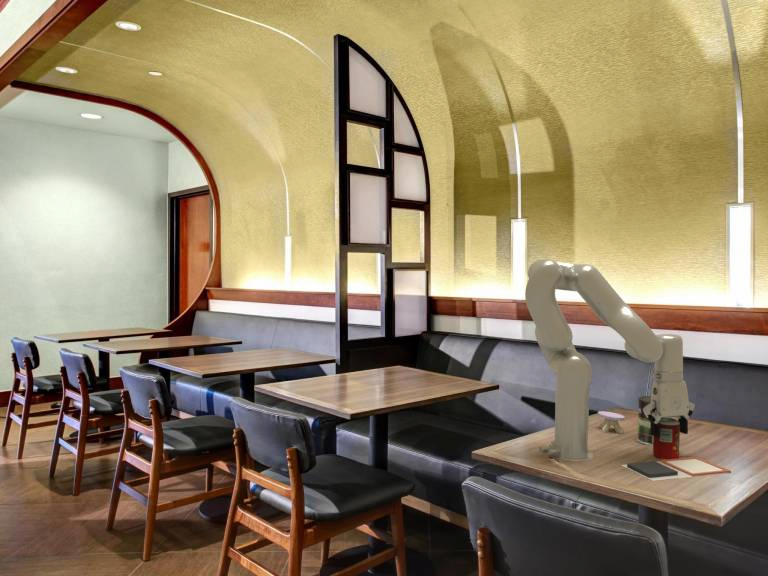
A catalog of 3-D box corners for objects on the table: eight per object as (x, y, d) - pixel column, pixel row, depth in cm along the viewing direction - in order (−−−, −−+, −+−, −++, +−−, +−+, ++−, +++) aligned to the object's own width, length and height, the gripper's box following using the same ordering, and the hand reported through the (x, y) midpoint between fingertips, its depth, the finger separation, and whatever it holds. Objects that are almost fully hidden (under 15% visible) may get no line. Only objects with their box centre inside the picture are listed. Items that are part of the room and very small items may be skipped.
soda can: (681, 465, 178) (682, 423, 177) (654, 463, 179) (655, 421, 179) (676, 458, 184) (677, 417, 184) (650, 456, 186) (651, 415, 186)
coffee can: (634, 443, 199) (635, 400, 199) (639, 436, 208) (640, 394, 208) (669, 448, 194) (671, 404, 193) (673, 440, 203) (674, 398, 202)
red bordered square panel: (692, 476, 165) (692, 474, 165) (659, 461, 177) (659, 460, 177) (730, 472, 168) (730, 470, 168) (695, 458, 180) (695, 456, 180)
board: (652, 485, 161) (652, 480, 161) (620, 469, 174) (621, 465, 174) (727, 477, 168) (727, 473, 168) (691, 462, 180) (691, 458, 180)
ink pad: (649, 478, 163) (649, 474, 163) (627, 467, 172) (627, 463, 172) (677, 475, 166) (677, 471, 166) (654, 464, 174) (654, 461, 174)
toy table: (590, 428, 218) (591, 412, 218) (610, 425, 221) (611, 410, 221) (610, 435, 209) (611, 418, 209) (631, 432, 212) (631, 416, 212)
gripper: (652, 381, 175) (653, 440, 176) (702, 376, 180) (703, 434, 180) (635, 376, 182) (635, 434, 183) (683, 372, 187) (684, 428, 188)
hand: (669, 434), depth 182 cm, fingers open, 9 cm apart
